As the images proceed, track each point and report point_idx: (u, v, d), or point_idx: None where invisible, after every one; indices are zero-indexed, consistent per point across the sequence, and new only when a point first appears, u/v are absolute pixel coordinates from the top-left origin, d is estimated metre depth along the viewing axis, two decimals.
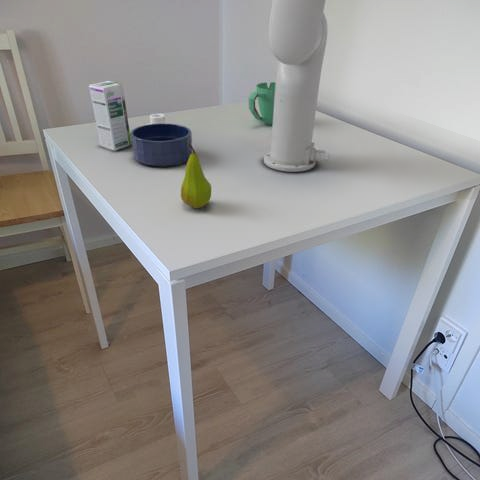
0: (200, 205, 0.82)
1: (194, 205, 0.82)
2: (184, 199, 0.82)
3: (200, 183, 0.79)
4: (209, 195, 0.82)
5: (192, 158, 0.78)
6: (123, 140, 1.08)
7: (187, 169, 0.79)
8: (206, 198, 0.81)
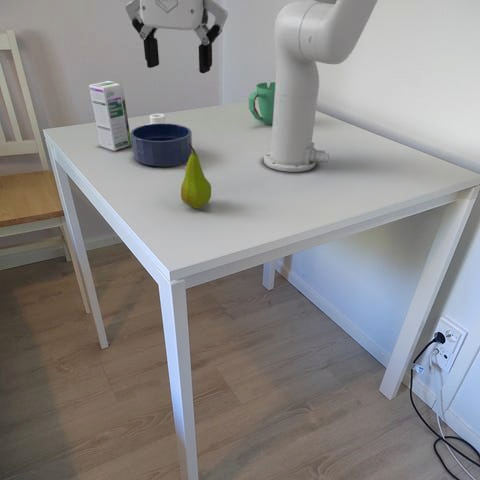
0: (200, 205, 0.82)
1: (194, 205, 0.82)
2: (184, 199, 0.82)
3: (200, 183, 0.79)
4: (209, 195, 0.82)
5: (192, 158, 0.78)
6: (123, 140, 1.08)
7: (187, 169, 0.79)
8: (206, 198, 0.81)
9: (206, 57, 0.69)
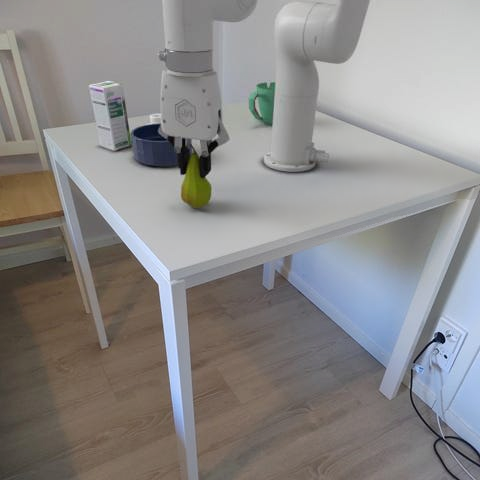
0: (200, 205, 0.82)
1: (194, 205, 0.82)
2: (184, 199, 0.82)
3: (200, 183, 0.79)
4: (209, 195, 0.82)
5: (193, 158, 0.78)
6: (123, 140, 1.08)
7: (188, 169, 0.79)
8: (206, 198, 0.81)
9: (206, 165, 0.78)
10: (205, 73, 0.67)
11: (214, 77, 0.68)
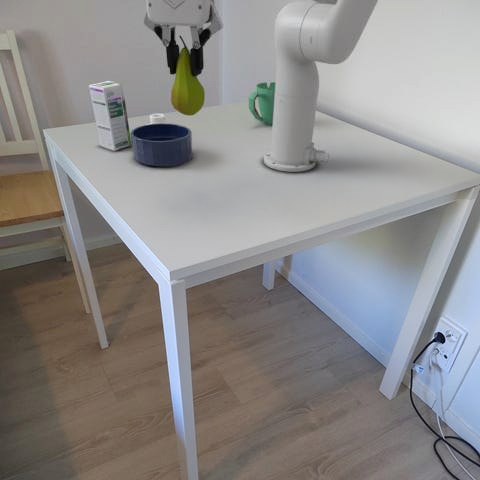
0: (193, 111, 0.75)
1: (186, 110, 0.74)
2: (175, 103, 0.74)
3: (192, 83, 0.72)
4: (202, 99, 0.74)
5: (183, 53, 0.71)
6: (123, 140, 1.08)
7: (178, 66, 0.71)
8: (199, 101, 0.74)
9: (198, 60, 0.70)
10: None
11: None
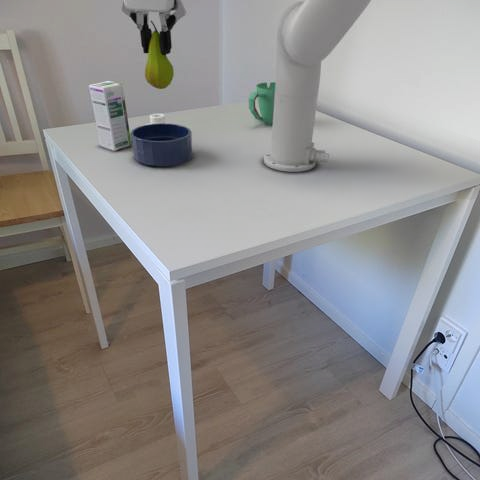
0: (163, 85, 0.89)
1: (157, 84, 0.89)
2: (148, 78, 0.89)
3: (161, 61, 0.87)
4: (171, 74, 0.89)
5: (154, 35, 0.85)
6: (123, 140, 1.08)
7: (150, 46, 0.86)
8: (168, 76, 0.88)
9: (166, 41, 0.85)
10: None
11: None
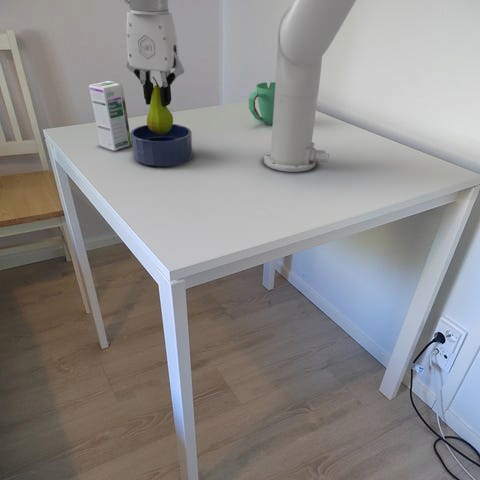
0: (163, 132, 0.99)
1: (158, 131, 0.98)
2: (149, 126, 0.98)
3: (162, 111, 0.96)
4: (170, 123, 0.98)
5: (155, 89, 0.94)
6: (123, 140, 1.08)
7: (151, 99, 0.95)
8: (167, 125, 0.98)
9: (166, 95, 0.94)
10: (161, 12, 0.84)
11: (169, 16, 0.85)
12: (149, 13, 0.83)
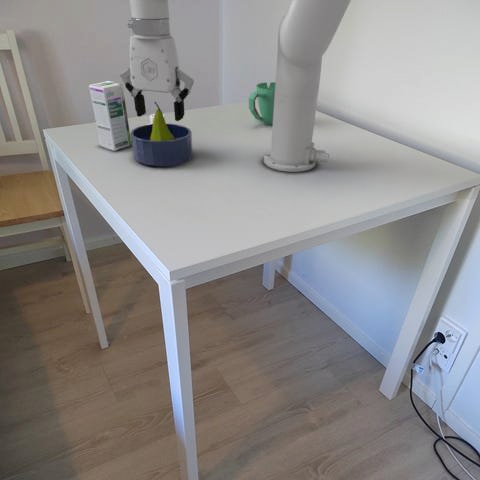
0: None
1: None
2: None
3: (164, 134, 0.99)
4: None
5: (157, 113, 0.98)
6: (123, 140, 1.08)
7: (153, 123, 0.98)
8: None
9: (179, 110, 0.95)
10: (163, 36, 0.86)
11: (171, 40, 0.87)
12: (151, 38, 0.86)
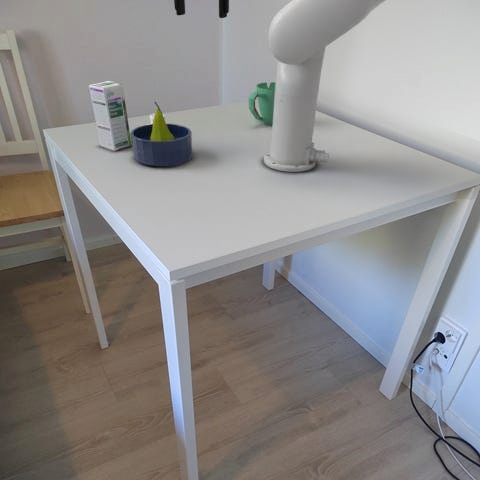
0: None
1: None
2: None
3: (164, 134, 0.99)
4: None
5: (157, 113, 0.98)
6: (123, 140, 1.08)
7: (153, 123, 0.98)
8: None
9: (224, 4, 0.87)
10: None
11: None
12: None
